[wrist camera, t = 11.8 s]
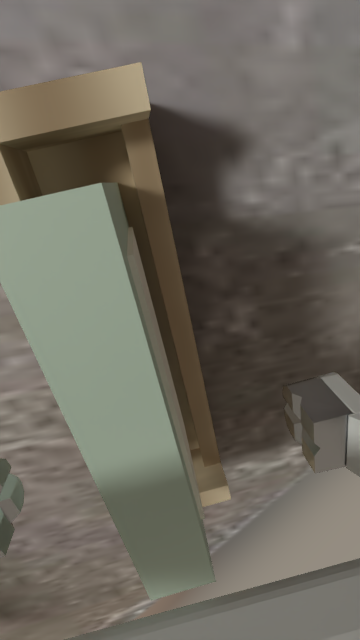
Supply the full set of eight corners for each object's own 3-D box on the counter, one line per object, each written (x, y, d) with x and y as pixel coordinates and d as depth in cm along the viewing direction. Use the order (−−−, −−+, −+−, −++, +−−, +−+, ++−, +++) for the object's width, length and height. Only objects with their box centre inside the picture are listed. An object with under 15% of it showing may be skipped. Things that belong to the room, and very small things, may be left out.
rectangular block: (121, 181, 13) (110, 180, 6) (185, 428, 19) (220, 580, 12) (58, 195, 13) (-33, 213, 6) (143, 439, 19) (151, 600, 12)
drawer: (137, 98, 13) (142, 45, 8) (211, 439, 22) (237, 519, 17) (-3, 129, 13) (-91, 94, 8) (127, 462, 21) (126, 551, 16)
